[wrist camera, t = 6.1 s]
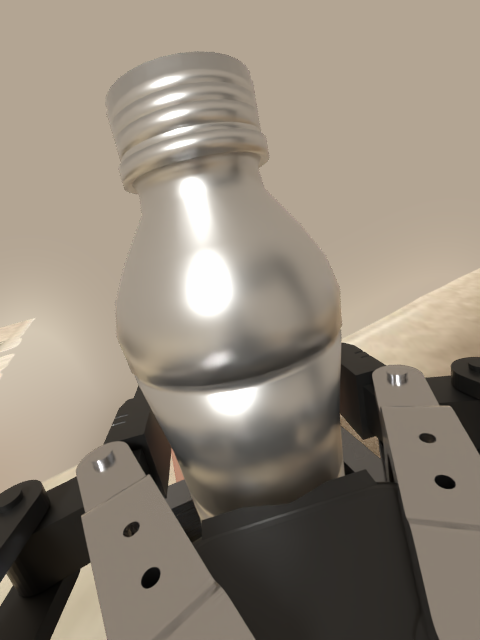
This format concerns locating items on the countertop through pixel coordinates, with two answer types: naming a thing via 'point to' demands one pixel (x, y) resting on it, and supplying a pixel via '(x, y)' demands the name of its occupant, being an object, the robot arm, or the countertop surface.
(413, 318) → the countertop surface
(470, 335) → the countertop surface
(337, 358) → the plastic bottle
